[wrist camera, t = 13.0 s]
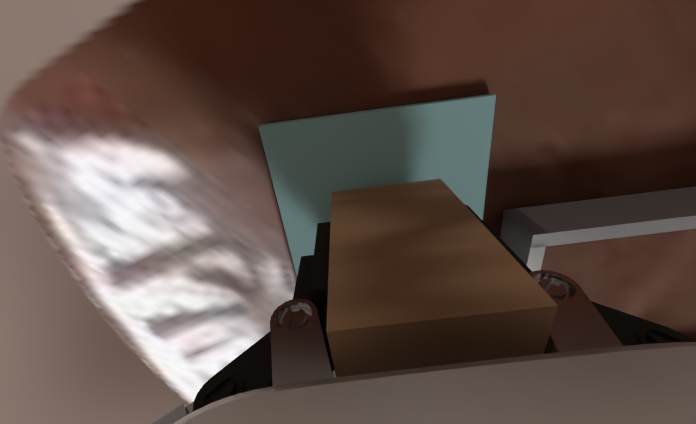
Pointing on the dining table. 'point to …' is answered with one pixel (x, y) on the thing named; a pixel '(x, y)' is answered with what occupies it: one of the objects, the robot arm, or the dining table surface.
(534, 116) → the dining table surface
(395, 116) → the mat
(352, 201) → the wooden block
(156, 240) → the dining table surface
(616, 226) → the grey rectangular frame
